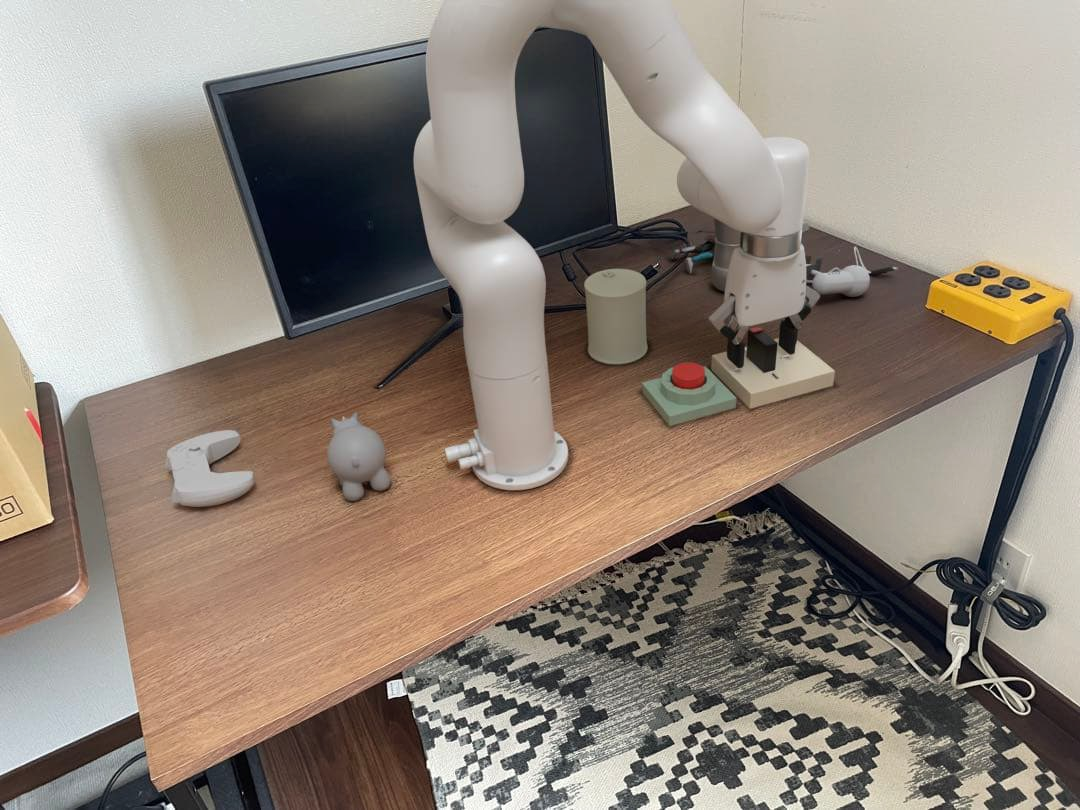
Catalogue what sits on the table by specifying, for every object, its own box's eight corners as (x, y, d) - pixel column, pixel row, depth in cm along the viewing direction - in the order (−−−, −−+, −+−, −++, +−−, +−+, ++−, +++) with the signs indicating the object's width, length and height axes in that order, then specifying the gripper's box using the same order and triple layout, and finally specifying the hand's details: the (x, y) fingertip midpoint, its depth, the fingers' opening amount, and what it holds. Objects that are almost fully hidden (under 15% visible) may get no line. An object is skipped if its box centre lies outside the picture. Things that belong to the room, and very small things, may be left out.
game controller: (257, 476, 102) (171, 492, 97) (260, 504, 104) (176, 521, 99) (236, 420, 113) (158, 432, 108) (239, 447, 115) (162, 460, 110)
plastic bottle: (750, 297, 135) (758, 180, 124) (709, 296, 137) (713, 181, 125) (750, 279, 140) (757, 166, 129) (710, 279, 142) (714, 167, 130)
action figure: (690, 278, 144) (776, 251, 148) (690, 248, 140) (779, 222, 144) (668, 259, 150) (751, 234, 154) (668, 230, 146) (753, 205, 150)
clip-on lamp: (849, 277, 144) (772, 284, 136) (857, 242, 141) (779, 247, 133) (903, 296, 134) (823, 304, 127) (912, 259, 132) (832, 265, 124)
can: (632, 328, 130) (631, 260, 123) (657, 355, 123) (657, 284, 116) (579, 342, 128) (574, 273, 121) (601, 370, 121) (597, 299, 114)
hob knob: (775, 370, 112) (778, 341, 109) (763, 373, 112) (766, 344, 109) (757, 353, 116) (759, 325, 113) (746, 356, 116) (748, 328, 113)
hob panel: (749, 409, 110) (750, 392, 108) (711, 369, 118) (711, 354, 117) (833, 385, 112) (835, 369, 111) (789, 349, 121) (790, 333, 119)
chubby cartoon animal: (379, 440, 111) (366, 389, 106) (398, 492, 102) (384, 439, 97) (327, 455, 109) (312, 404, 105) (341, 509, 100) (325, 456, 95)
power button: (680, 393, 109) (681, 382, 108) (666, 377, 112) (666, 366, 111) (710, 385, 109) (710, 374, 108) (695, 369, 113) (695, 359, 112)
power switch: (669, 426, 108) (669, 405, 106) (641, 392, 115) (641, 371, 113) (736, 408, 110) (737, 386, 108) (705, 375, 117) (705, 355, 115)
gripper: (813, 215, 108) (800, 330, 118) (695, 242, 104) (692, 358, 114) (847, 235, 102) (831, 354, 112) (723, 264, 98) (718, 385, 108)
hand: (761, 355), depth 113 cm, fingers open, 7 cm apart
